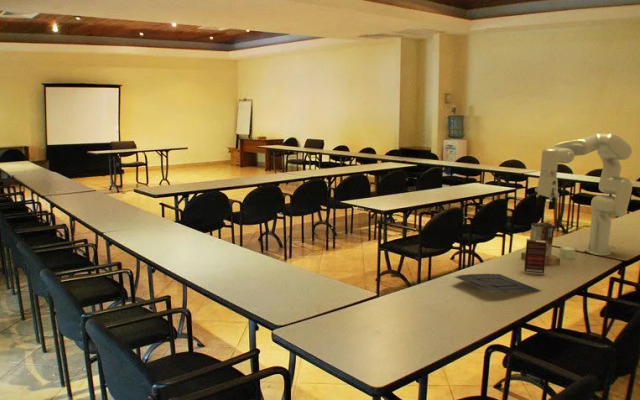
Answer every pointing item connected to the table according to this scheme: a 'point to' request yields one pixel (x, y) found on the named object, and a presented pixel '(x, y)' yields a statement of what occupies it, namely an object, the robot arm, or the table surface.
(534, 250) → the supplement box
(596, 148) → the robot arm
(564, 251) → the sage cube
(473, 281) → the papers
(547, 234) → the coffee box
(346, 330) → the table surface
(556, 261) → the walnut block
